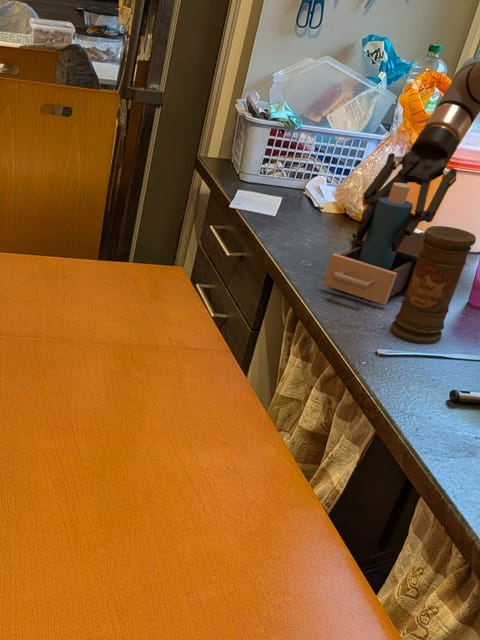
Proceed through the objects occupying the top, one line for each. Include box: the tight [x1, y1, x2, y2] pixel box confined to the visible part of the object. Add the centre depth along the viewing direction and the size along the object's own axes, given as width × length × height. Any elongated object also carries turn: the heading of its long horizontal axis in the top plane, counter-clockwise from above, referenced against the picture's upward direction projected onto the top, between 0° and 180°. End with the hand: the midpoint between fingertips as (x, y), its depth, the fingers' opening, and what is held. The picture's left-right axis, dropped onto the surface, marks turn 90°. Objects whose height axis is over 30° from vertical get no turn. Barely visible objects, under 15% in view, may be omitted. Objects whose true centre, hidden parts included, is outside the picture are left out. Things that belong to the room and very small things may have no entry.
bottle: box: [358, 183, 414, 271], centre depth 180 cm, size 6×6×18 cm
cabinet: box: [350, 231, 425, 298], centre depth 192 cm, size 17×14×8 cm
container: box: [390, 225, 477, 345], centre depth 165 cm, size 9×9×18 cm
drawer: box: [322, 245, 416, 306], centre depth 184 cm, size 20×13×6 cm, turn 139°
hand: (376, 241), depth 178 cm, fingers closed on bottle, 6 cm apart
